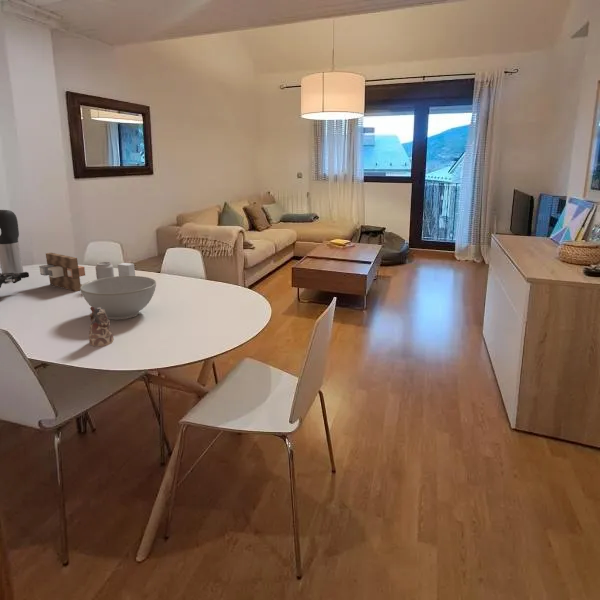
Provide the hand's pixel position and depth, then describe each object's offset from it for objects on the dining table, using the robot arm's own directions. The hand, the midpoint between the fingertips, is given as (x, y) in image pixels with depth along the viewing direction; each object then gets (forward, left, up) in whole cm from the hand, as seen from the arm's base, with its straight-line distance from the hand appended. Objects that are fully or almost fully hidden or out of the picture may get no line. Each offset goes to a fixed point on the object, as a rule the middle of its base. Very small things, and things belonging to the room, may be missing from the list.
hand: (27, 274), depth 202 cm
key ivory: (+5, +10, -2) cm, 12 cm away
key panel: (+4, +15, -8) cm, 18 cm away
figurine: (+82, -5, -8) cm, 83 cm away
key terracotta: (+11, +16, -2) cm, 20 cm away
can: (+19, +26, -8) cm, 33 cm away
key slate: (-2, +9, -2) cm, 10 cm away
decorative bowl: (+60, +13, -8) cm, 62 cm away
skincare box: (+28, +32, -8) cm, 43 cm away
